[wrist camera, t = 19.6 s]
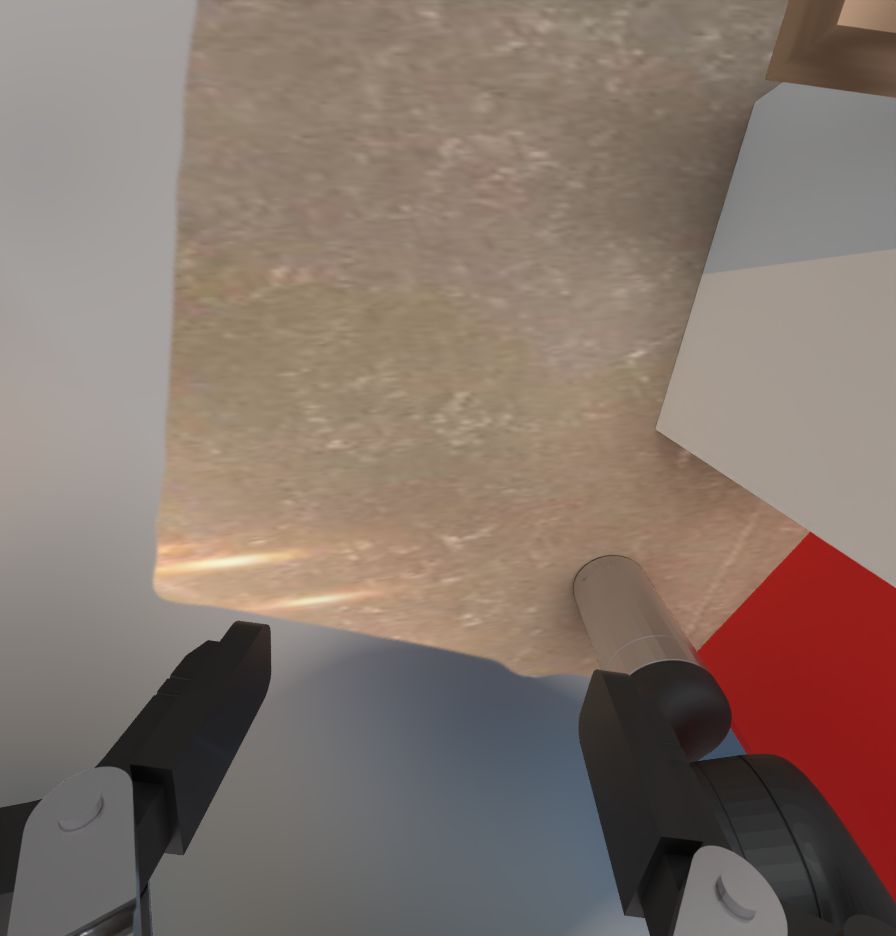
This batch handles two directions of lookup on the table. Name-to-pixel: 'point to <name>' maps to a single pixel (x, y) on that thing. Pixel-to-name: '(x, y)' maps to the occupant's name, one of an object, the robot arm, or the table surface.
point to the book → (820, 686)
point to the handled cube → (838, 46)
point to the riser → (802, 322)
